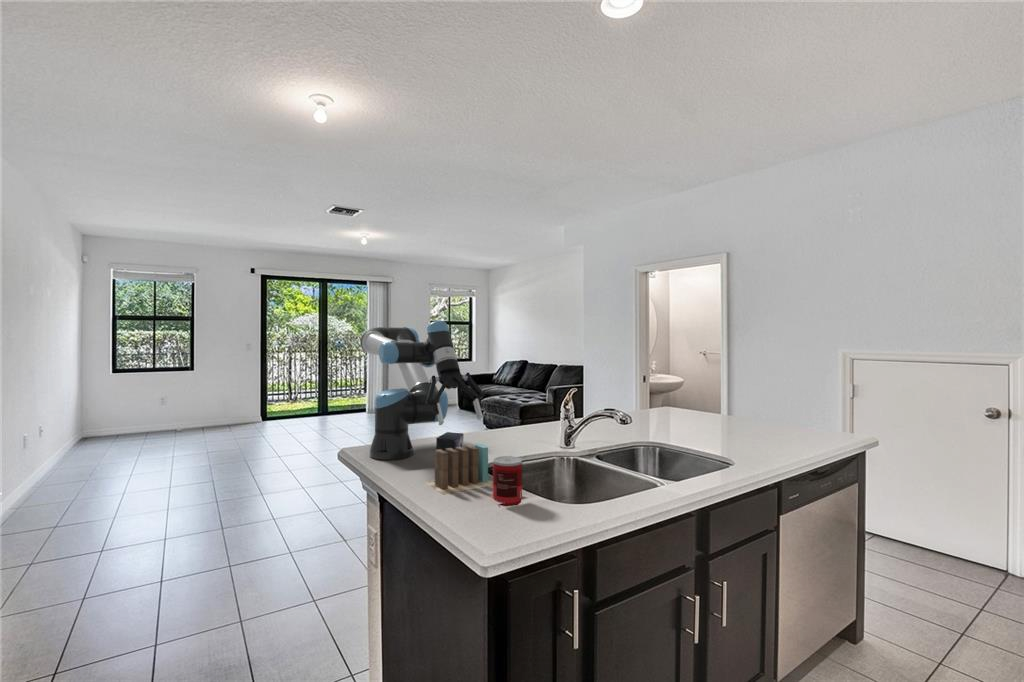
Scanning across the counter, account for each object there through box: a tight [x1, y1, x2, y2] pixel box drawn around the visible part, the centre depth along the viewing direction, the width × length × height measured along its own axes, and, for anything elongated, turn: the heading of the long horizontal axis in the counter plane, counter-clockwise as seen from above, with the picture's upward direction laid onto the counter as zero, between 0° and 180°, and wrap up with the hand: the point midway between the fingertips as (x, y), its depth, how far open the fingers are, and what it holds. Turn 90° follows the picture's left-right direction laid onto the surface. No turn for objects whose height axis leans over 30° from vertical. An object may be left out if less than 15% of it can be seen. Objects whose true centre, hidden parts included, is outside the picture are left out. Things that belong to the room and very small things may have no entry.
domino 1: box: [434, 449, 448, 490], centre depth 137 cm, size 5×2×10 cm, turn 33°
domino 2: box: [445, 448, 458, 488], centre depth 138 cm, size 5×2×10 cm, turn 33°
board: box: [425, 478, 493, 495], centre depth 140 cm, size 12×17×1 cm
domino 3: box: [455, 446, 469, 486], centre depth 140 cm, size 5×2×10 cm, turn 33°
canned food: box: [492, 455, 523, 507], centre depth 128 cm, size 8×8×11 cm
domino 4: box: [464, 444, 479, 484], centre depth 142 cm, size 5×2×10 cm, turn 33°
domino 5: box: [474, 443, 489, 483], centre depth 144 cm, size 5×2×10 cm, turn 33°
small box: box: [435, 431, 464, 451], centre depth 161 cm, size 11×6×10 cm, turn 168°
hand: (461, 420), depth 159 cm, fingers open, 13 cm apart
